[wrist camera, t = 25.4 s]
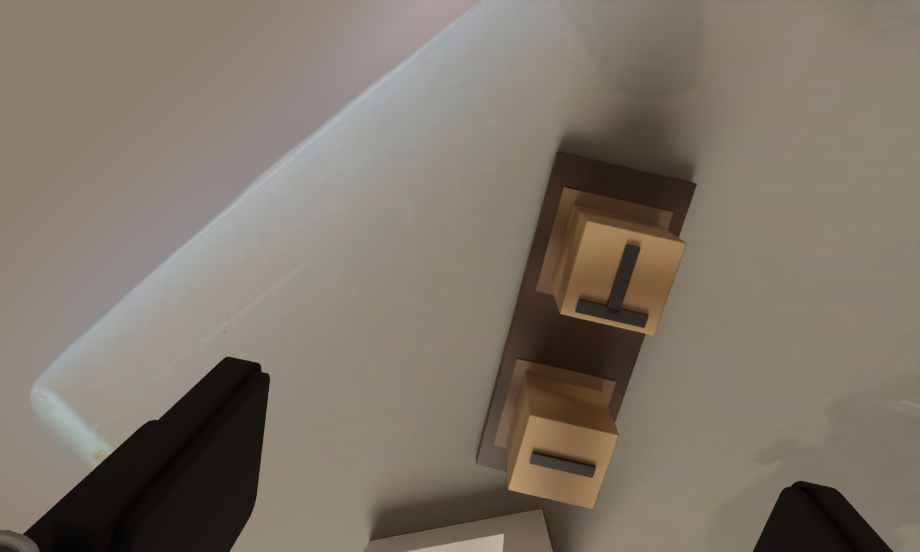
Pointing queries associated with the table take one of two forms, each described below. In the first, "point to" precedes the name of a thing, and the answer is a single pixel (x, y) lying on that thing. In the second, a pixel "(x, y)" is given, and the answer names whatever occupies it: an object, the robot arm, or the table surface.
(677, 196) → the dark brown wooden board
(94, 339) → the table surface
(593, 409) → the letter I
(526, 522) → the bracket
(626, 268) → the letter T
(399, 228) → the table surface
